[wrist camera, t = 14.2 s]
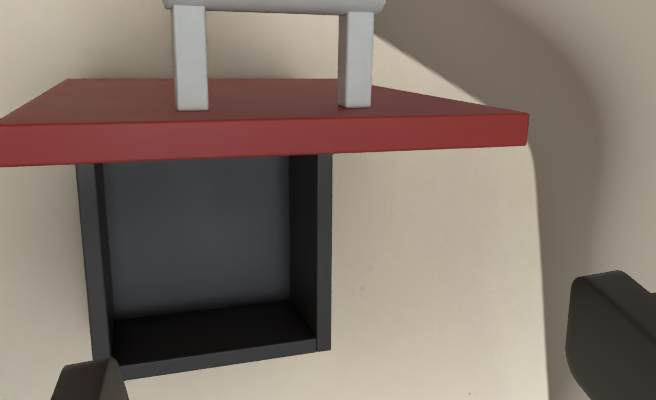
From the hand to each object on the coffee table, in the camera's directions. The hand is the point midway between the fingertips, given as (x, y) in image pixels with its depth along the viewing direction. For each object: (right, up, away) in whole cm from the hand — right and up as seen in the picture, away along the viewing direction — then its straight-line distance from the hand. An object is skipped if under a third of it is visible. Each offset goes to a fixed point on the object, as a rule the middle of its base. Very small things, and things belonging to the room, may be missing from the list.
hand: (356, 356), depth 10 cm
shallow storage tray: (-8, +2, +23) cm, 25 cm away
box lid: (-3, +5, +9) cm, 11 cm away
